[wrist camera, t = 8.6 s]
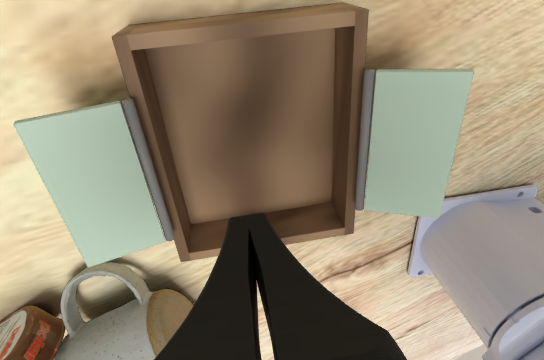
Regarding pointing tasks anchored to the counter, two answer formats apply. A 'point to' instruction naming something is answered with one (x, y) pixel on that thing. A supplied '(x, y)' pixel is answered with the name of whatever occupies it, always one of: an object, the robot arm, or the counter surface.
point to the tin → (30, 335)
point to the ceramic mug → (121, 320)
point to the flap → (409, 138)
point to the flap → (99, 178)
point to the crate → (251, 119)
